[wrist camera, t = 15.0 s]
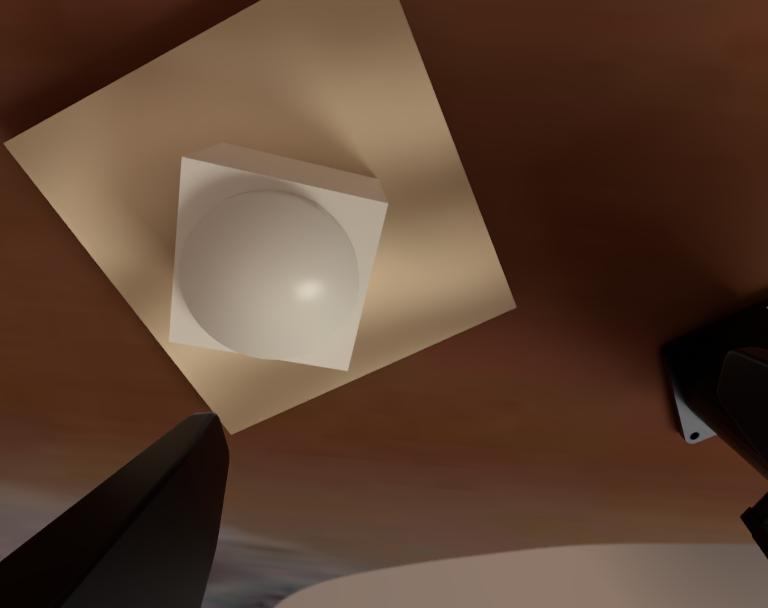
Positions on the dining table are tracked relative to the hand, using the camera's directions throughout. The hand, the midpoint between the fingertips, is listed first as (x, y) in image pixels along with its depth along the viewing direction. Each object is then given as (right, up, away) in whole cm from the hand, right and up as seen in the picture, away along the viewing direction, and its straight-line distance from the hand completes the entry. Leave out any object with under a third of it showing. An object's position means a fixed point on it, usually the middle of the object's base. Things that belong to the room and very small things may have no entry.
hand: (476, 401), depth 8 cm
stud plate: (-5, +5, +11) cm, 13 cm away
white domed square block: (-5, +4, +10) cm, 12 cm away
